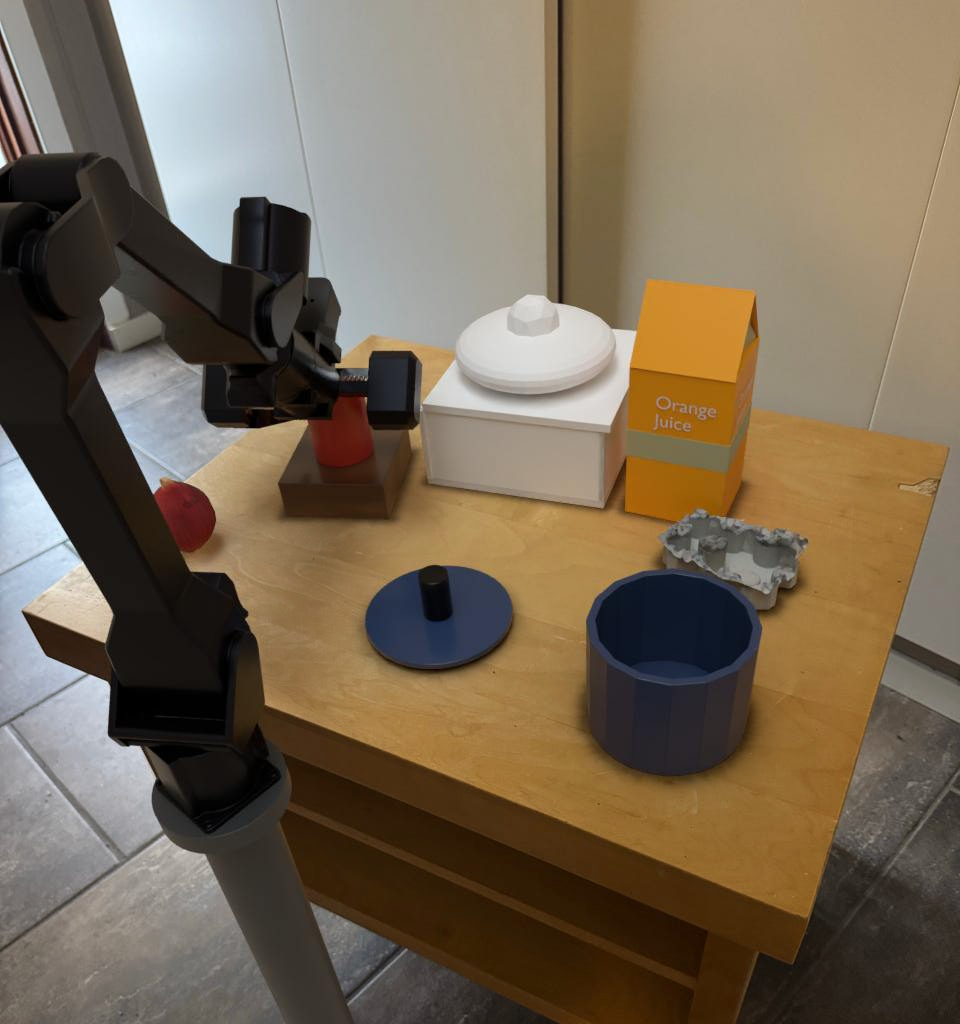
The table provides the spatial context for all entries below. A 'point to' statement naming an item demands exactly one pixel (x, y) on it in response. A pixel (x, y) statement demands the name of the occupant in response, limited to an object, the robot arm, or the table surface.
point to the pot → (670, 670)
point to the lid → (438, 617)
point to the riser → (346, 480)
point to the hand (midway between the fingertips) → (341, 414)
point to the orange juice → (689, 398)
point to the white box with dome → (532, 405)
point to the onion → (186, 513)
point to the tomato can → (343, 434)
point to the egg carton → (735, 554)
